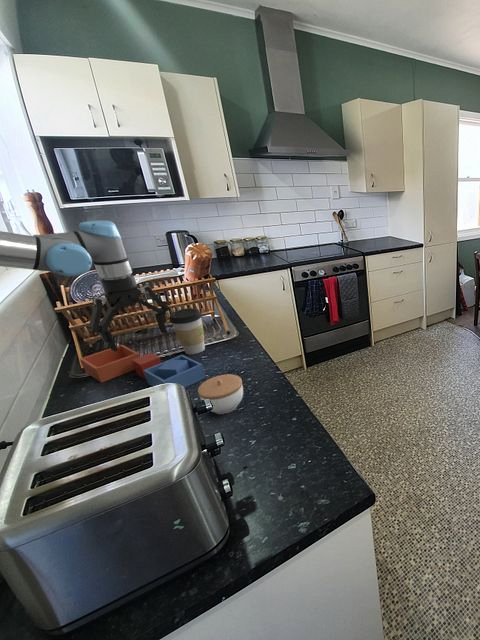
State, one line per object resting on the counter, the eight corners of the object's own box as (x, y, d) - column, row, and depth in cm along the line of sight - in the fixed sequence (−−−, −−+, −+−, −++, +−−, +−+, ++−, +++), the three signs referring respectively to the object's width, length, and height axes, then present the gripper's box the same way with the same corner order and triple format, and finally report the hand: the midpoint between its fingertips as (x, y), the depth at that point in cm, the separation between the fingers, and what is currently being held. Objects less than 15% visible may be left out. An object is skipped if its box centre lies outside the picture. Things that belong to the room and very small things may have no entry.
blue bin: (167, 395, 103) (162, 381, 101) (147, 384, 108) (142, 370, 106) (206, 377, 112) (202, 364, 110) (186, 367, 117) (182, 354, 115)
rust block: (145, 379, 110) (140, 364, 108) (136, 374, 113) (131, 359, 110) (164, 371, 115) (159, 357, 112) (155, 366, 117) (150, 352, 115)
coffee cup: (216, 344, 132) (207, 308, 126) (198, 357, 123) (187, 319, 117) (192, 342, 133) (182, 306, 126) (172, 355, 124) (160, 317, 117)
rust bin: (101, 382, 108) (95, 369, 106) (85, 372, 113) (79, 358, 111) (143, 366, 117) (138, 353, 115) (126, 357, 122) (121, 344, 120)
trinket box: (248, 393, 105) (242, 366, 102) (244, 415, 96) (238, 387, 92) (208, 399, 102) (200, 372, 98) (200, 423, 93) (191, 394, 89)
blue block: (162, 384, 107) (157, 369, 105) (174, 374, 112) (169, 359, 110) (180, 384, 107) (175, 369, 105) (191, 374, 112) (186, 360, 110)
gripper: (157, 264, 111) (176, 323, 120) (53, 285, 92) (84, 354, 101) (170, 268, 108) (188, 328, 117) (65, 291, 88) (96, 361, 97)
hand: (140, 340), depth 109 cm, fingers open, 13 cm apart
